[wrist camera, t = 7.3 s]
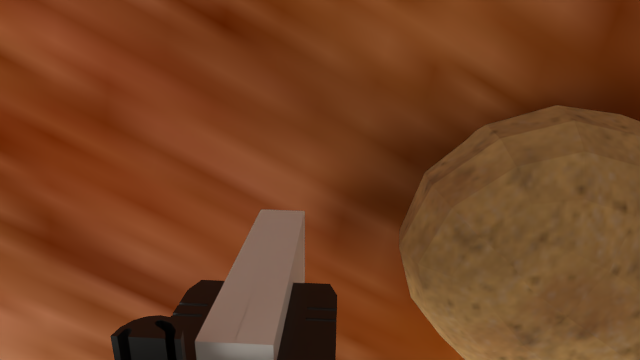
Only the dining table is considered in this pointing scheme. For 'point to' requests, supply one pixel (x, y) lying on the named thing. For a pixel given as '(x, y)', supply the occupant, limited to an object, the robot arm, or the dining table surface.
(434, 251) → the potato
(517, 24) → the dining table surface
